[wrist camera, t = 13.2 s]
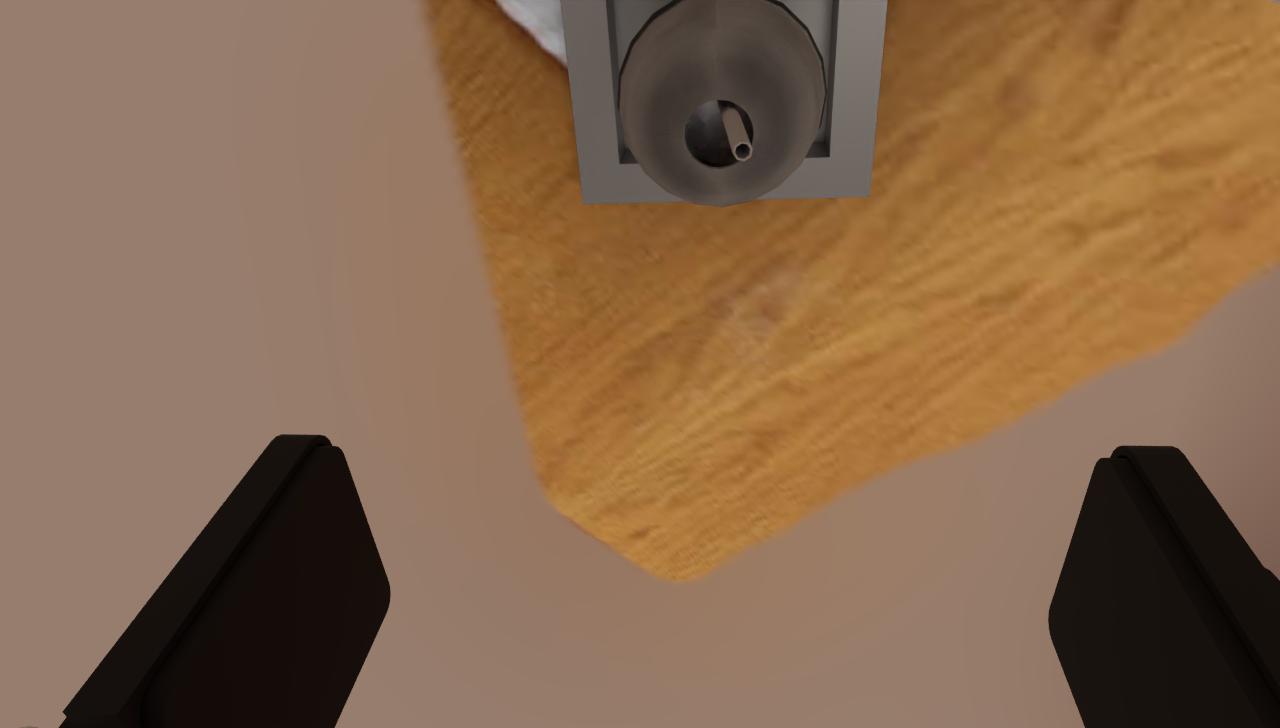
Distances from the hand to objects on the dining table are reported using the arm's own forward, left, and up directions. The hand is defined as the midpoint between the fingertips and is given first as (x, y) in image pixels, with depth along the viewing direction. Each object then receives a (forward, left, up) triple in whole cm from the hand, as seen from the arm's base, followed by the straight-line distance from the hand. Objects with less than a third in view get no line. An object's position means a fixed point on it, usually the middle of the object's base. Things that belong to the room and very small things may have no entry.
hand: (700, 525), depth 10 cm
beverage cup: (0, 0, -33) cm, 33 cm away
